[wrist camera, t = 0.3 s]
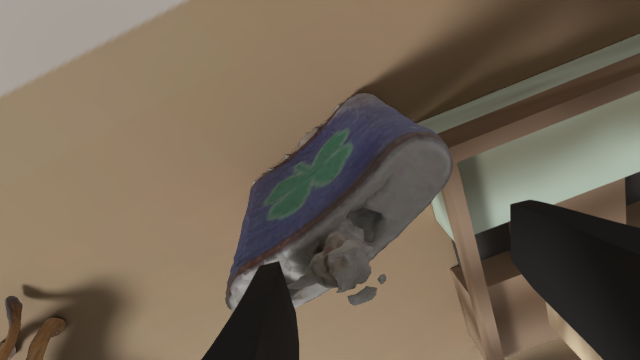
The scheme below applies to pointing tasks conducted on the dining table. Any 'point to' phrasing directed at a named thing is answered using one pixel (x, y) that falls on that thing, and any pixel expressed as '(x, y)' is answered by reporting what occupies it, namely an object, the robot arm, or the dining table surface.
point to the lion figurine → (48, 329)
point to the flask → (339, 201)
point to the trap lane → (535, 180)
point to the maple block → (571, 336)
